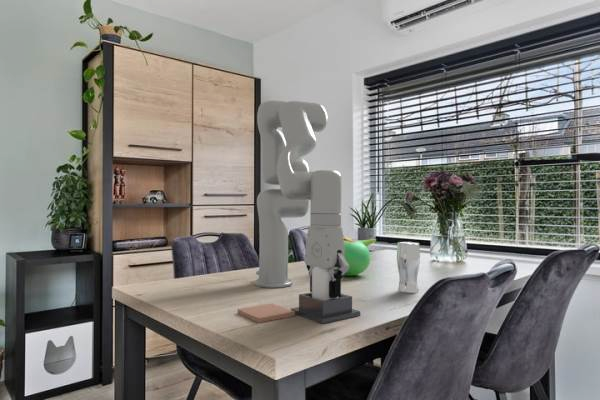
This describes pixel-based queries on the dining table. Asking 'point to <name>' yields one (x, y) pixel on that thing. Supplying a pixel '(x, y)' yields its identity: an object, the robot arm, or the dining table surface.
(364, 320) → the dining table surface
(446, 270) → the dining table surface
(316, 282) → the can
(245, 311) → the mat
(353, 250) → the green round teapot
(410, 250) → the beer glass
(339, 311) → the sleeve
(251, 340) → the dining table surface
